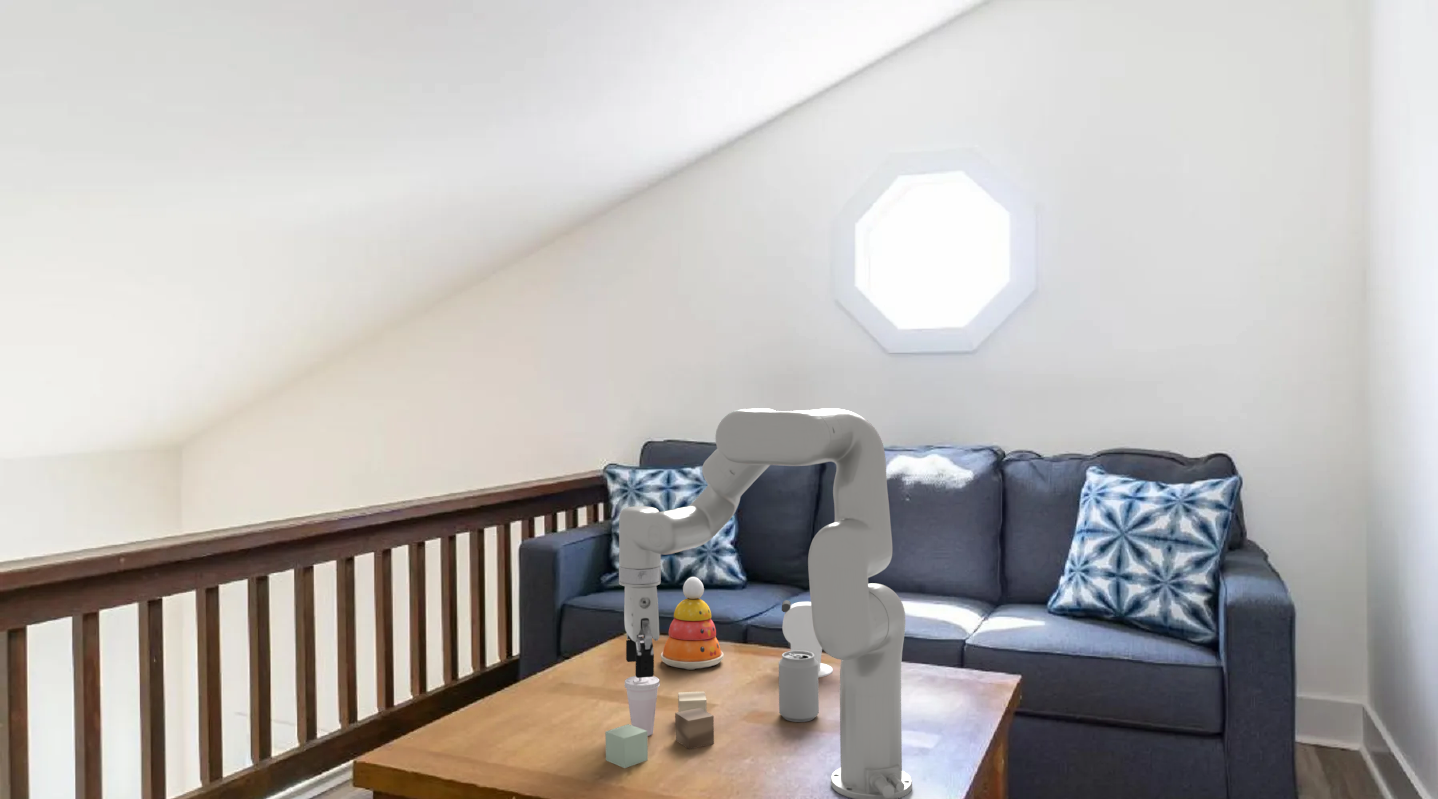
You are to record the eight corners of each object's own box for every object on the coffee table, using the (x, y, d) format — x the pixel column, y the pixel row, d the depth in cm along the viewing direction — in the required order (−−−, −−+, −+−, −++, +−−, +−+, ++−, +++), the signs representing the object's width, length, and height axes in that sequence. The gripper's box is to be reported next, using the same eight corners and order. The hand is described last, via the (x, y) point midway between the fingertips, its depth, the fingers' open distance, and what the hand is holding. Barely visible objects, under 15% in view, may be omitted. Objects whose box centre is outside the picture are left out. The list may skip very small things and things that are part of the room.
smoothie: (618, 735, 182) (617, 658, 182) (637, 724, 188) (636, 650, 188) (648, 741, 179) (647, 663, 179) (667, 730, 185) (665, 654, 185)
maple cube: (706, 726, 187) (706, 699, 187) (679, 727, 187) (679, 700, 186) (704, 717, 192) (704, 691, 192) (678, 718, 192) (678, 692, 191)
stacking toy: (688, 676, 218) (687, 586, 218) (647, 663, 229) (646, 577, 228) (736, 663, 228) (735, 577, 227) (695, 651, 238) (694, 569, 238)
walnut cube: (713, 743, 178) (713, 715, 178) (688, 749, 176) (688, 720, 176) (700, 735, 182) (699, 707, 182) (675, 740, 180) (675, 712, 180)
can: (816, 724, 187) (815, 660, 187) (776, 722, 189) (775, 658, 188) (820, 711, 194) (820, 649, 194) (782, 709, 196) (781, 647, 196)
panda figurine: (835, 663, 227) (834, 596, 226) (836, 678, 215) (835, 608, 215) (781, 662, 228) (780, 596, 228) (779, 677, 217) (778, 607, 216)
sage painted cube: (647, 760, 171) (647, 730, 171) (624, 768, 167) (624, 738, 167) (628, 752, 174) (628, 724, 174) (605, 760, 171) (605, 731, 171)
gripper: (670, 584, 176) (669, 681, 176) (651, 565, 193) (650, 654, 193) (627, 586, 174) (627, 685, 175) (611, 567, 191) (611, 656, 191)
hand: (639, 668), depth 184 cm, fingers open, 9 cm apart
